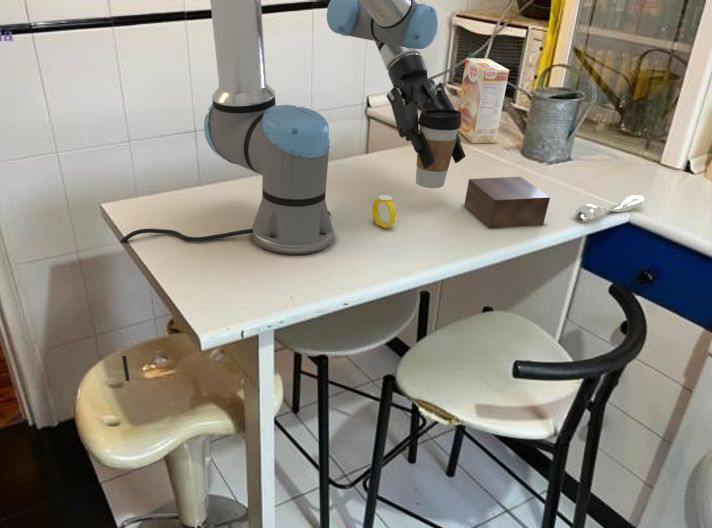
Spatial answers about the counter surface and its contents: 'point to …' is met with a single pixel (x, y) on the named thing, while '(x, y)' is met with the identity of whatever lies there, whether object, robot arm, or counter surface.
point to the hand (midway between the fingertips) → (445, 162)
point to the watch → (392, 210)
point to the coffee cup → (437, 144)
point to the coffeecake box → (482, 99)
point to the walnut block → (506, 202)
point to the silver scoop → (593, 210)
